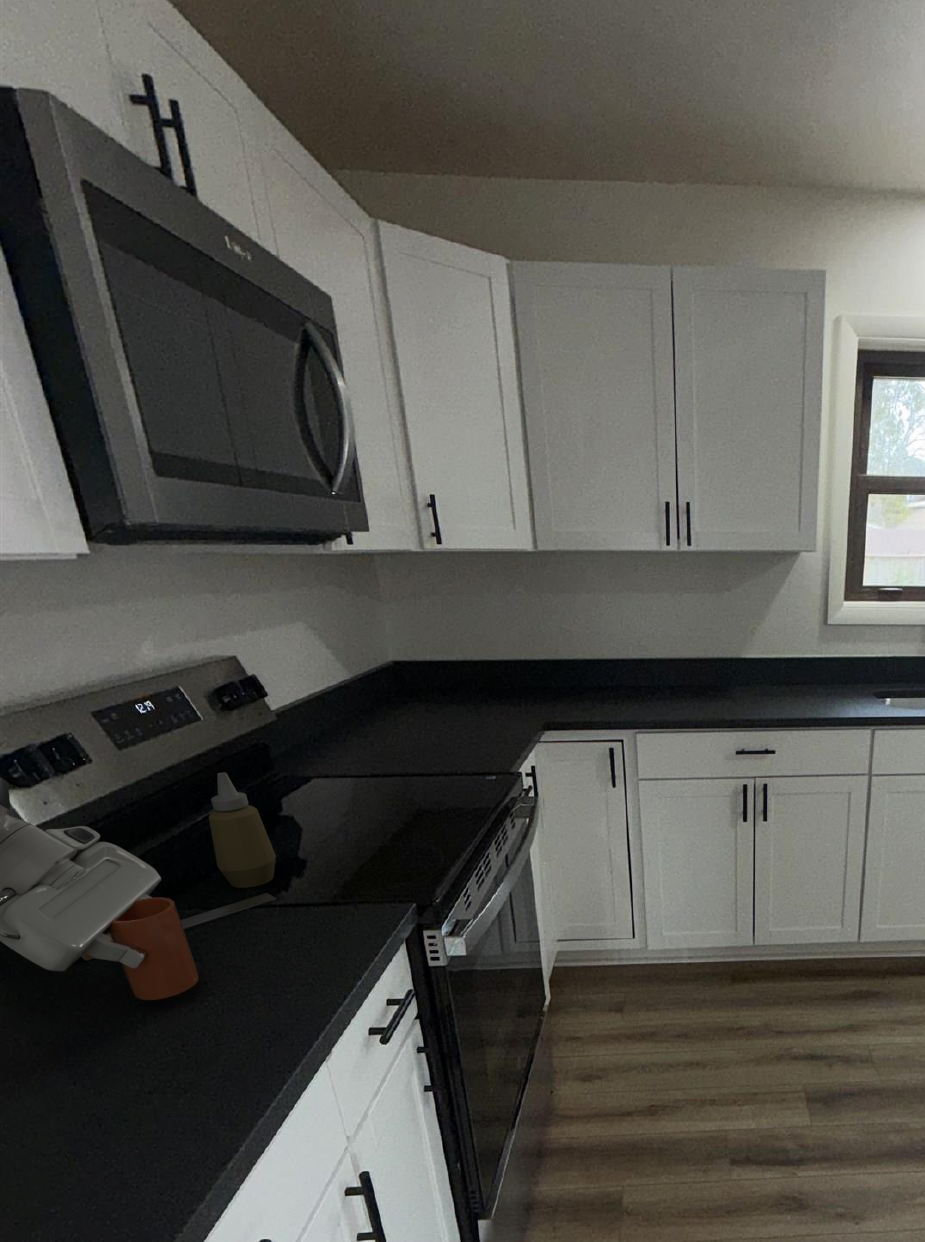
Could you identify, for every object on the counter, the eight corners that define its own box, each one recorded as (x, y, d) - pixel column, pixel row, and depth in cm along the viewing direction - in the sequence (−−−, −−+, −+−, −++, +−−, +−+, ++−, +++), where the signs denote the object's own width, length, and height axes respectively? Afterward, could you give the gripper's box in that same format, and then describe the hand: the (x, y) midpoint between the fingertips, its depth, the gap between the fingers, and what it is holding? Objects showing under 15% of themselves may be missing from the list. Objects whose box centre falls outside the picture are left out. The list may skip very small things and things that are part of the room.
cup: (146, 1006, 89) (116, 928, 85) (125, 987, 93) (96, 911, 89) (208, 982, 94) (182, 907, 90) (186, 966, 97) (161, 892, 93)
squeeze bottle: (284, 884, 126) (254, 775, 119) (225, 896, 122) (191, 784, 115) (278, 868, 132) (249, 763, 125) (222, 879, 128) (189, 771, 121)
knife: (87, 963, 103) (82, 950, 103) (79, 956, 105) (74, 943, 104) (277, 901, 121) (273, 889, 120) (267, 896, 122) (264, 884, 122)
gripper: (-19, 892, 76) (130, 971, 81) (95, 820, 94) (209, 889, 100) (-53, 938, 77) (96, 1012, 83) (65, 858, 95) (180, 923, 101)
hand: (158, 944), depth 91 cm, fingers closed on cup, 6 cm apart
